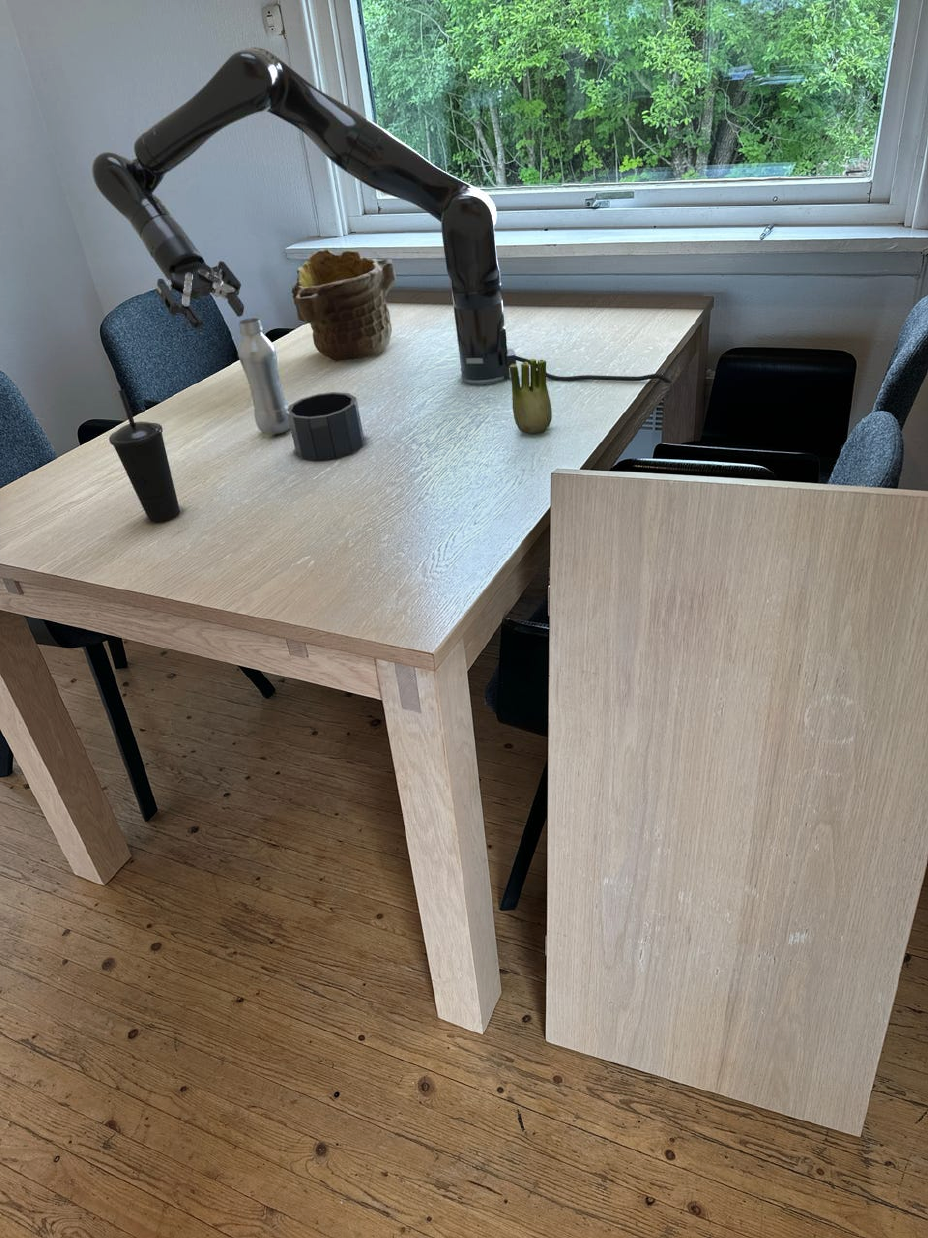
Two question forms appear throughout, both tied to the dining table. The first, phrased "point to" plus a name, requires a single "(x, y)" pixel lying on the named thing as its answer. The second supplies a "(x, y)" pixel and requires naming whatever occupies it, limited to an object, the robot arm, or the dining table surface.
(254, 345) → the silver water bottle
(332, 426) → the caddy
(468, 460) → the dining table surface
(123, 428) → the drinking cup
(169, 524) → the dining table surface
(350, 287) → the ceramic vessel
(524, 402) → the fennel bulb
